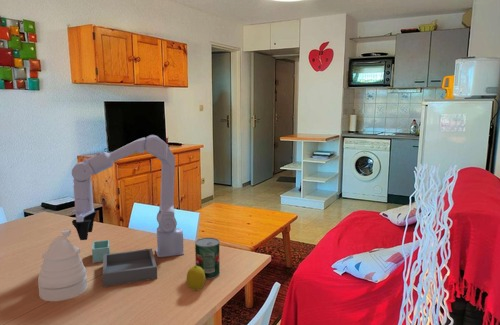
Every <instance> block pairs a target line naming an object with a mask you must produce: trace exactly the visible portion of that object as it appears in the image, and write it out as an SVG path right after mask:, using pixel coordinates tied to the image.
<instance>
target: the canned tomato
mask: <svg viewBox="0 0 500 325" xmlns="http://www.w3.org/2000/svg"><path fill="white" fill-rule="evenodd" d="M194 244H195V245H194V246H195V247H194V248H195V249H194V250H195V257H194V258H195V265H197V266H199V267H201V268H202V269H203V270H204V273H205V280H211V279H214V278H217V277H219V276H220V273H221V272H220V267H221V266H220V240H219V239H218V238H214V237H202V238H198V239H197V240H195V243H194Z"/></svg>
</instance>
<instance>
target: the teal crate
mask: <svg viewBox="0 0 500 325" xmlns="http://www.w3.org/2000/svg"><path fill="white" fill-rule="evenodd" d="M104 254H111V247H110V239H105V240H95V241H92V247H91V256H92V263H93V264H94V263H99V262H100V263H101V262H103V257H104Z"/></svg>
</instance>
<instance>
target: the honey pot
mask: <svg viewBox="0 0 500 325" xmlns="http://www.w3.org/2000/svg"><path fill="white" fill-rule="evenodd" d="M71 232H72V229H70V228H69V229H68V228H66V229H63V230H61V234H62V236H61V235H60V236H59V235H58V236H57V237H55V238H54V239H53V240H52V242H51V243H50V245H49V246H48V248H47V250H46V251H45V252H43V253H42V256H41V257H42V259H43V261H42V264H41V265H40V271H39V275H38V277H37V282H38V295H39V298H40V299H41V300H43V301H45V302H61V301H66V300H71V299H74V298H76V297H77V296H80V295H81V294H82V293H85V291H86V290H87V288H88V278H87V268H86V267H85V265H84V263H83V259H82V258H81V257H80V255H79V254H80V253H81V249H80V248H79V247H78V246H76V245H74V244H73V243H72V242H71V241H70V240H69V239H68V237H69V236H70V235H71V234H72V233H71Z"/></svg>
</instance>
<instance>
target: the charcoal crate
mask: <svg viewBox="0 0 500 325" xmlns="http://www.w3.org/2000/svg"><path fill="white" fill-rule="evenodd" d="M102 262H103V263H102V286H103V288H104V287H105V288H106V287H111V286H117V285H124V284H125V285H126V284H130V283H131V284H132V283H137V282H143V281H149V280H150V281H151V280H157V279H158V268H157V262H156V258H155V255H154V252H153V248H145V249H137V250H129V251H122V252H115V253H110V254H104V257H103V261H102Z"/></svg>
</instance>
